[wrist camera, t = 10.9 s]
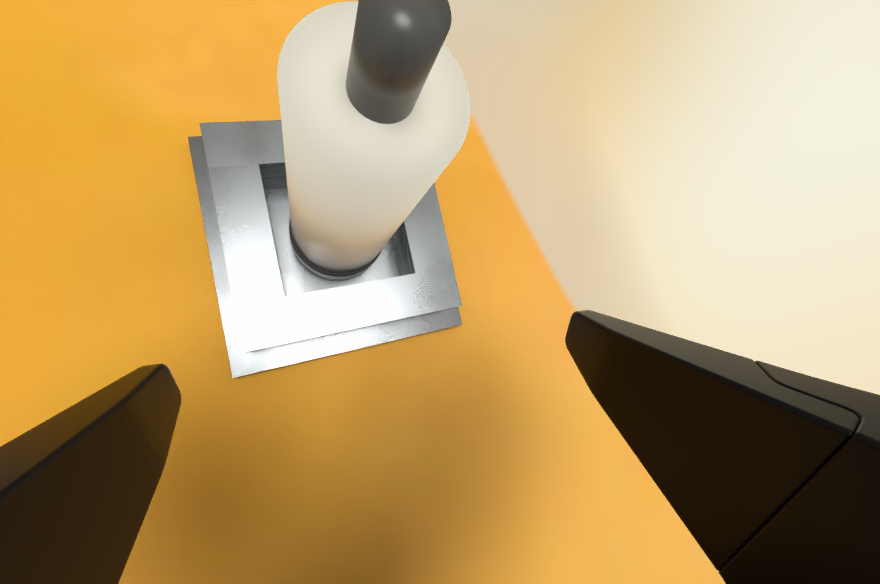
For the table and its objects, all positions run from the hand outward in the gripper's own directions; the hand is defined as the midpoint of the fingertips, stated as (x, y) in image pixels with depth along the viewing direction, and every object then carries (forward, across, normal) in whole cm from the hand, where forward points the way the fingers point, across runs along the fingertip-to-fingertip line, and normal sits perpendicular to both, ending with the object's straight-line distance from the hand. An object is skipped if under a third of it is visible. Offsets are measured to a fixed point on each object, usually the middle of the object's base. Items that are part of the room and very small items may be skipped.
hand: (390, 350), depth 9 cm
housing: (+14, -2, -4) cm, 14 cm away
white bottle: (+13, -1, -4) cm, 14 cm away
